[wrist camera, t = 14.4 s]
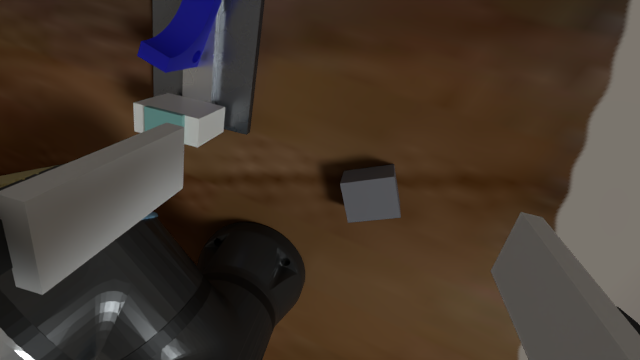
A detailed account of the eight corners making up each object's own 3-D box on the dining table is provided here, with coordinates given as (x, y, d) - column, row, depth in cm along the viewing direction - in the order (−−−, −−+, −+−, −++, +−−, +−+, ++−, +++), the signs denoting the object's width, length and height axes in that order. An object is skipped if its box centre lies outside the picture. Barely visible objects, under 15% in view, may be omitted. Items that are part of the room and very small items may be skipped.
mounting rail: (249, 132, 42) (243, 136, 40) (158, 109, 43) (148, 113, 41) (280, -141, 31) (273, -151, 29) (157, -162, 32) (143, -174, 30)
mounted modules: (223, 132, 40) (195, 149, 35) (168, 118, 41) (131, 132, 35) (245, -157, 29) (210, -203, 24) (169, -170, 30) (116, -219, 24)
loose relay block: (399, 201, 42) (400, 217, 39) (351, 206, 44) (348, 222, 40) (393, 163, 40) (394, 176, 37) (344, 170, 42) (339, 183, 38)
